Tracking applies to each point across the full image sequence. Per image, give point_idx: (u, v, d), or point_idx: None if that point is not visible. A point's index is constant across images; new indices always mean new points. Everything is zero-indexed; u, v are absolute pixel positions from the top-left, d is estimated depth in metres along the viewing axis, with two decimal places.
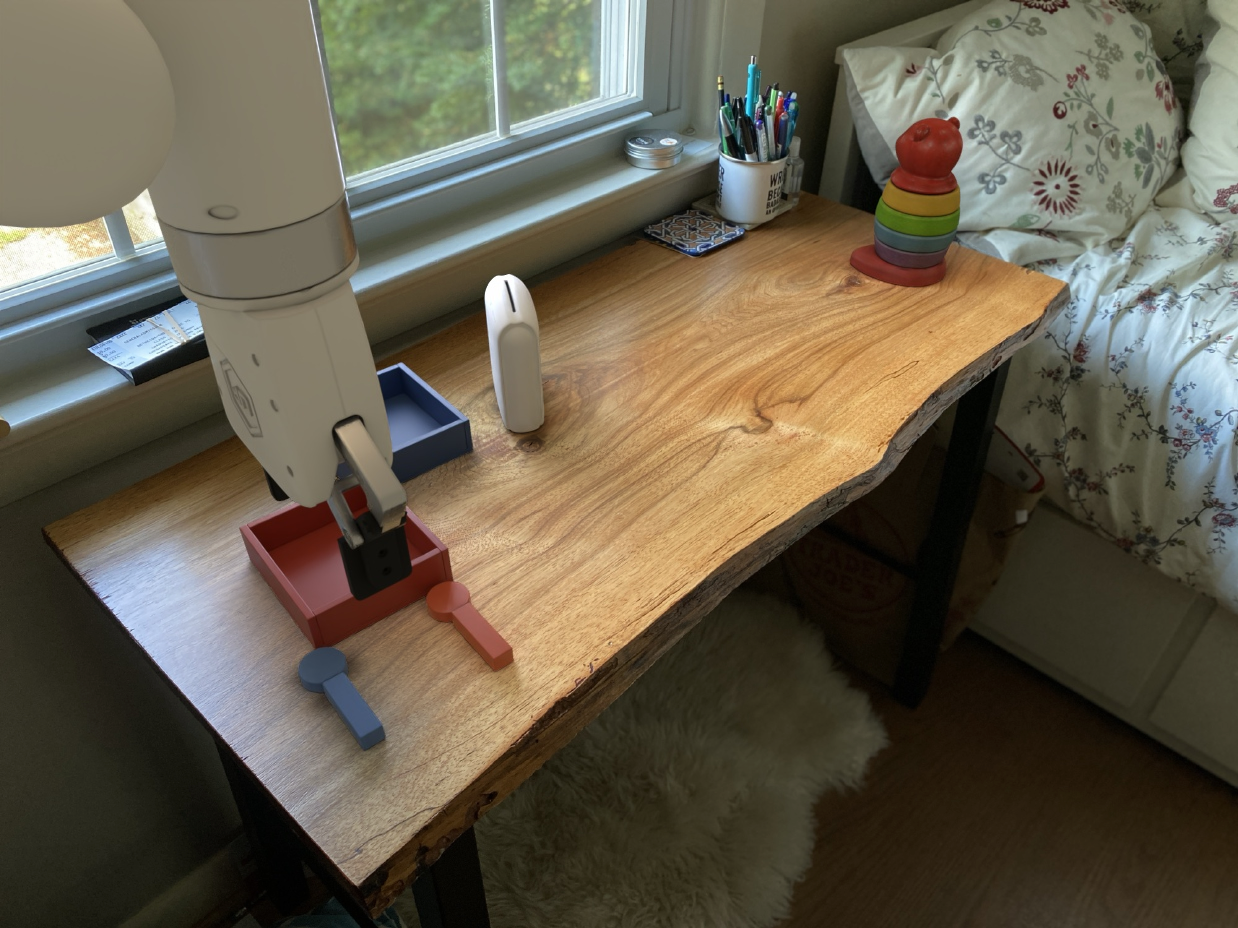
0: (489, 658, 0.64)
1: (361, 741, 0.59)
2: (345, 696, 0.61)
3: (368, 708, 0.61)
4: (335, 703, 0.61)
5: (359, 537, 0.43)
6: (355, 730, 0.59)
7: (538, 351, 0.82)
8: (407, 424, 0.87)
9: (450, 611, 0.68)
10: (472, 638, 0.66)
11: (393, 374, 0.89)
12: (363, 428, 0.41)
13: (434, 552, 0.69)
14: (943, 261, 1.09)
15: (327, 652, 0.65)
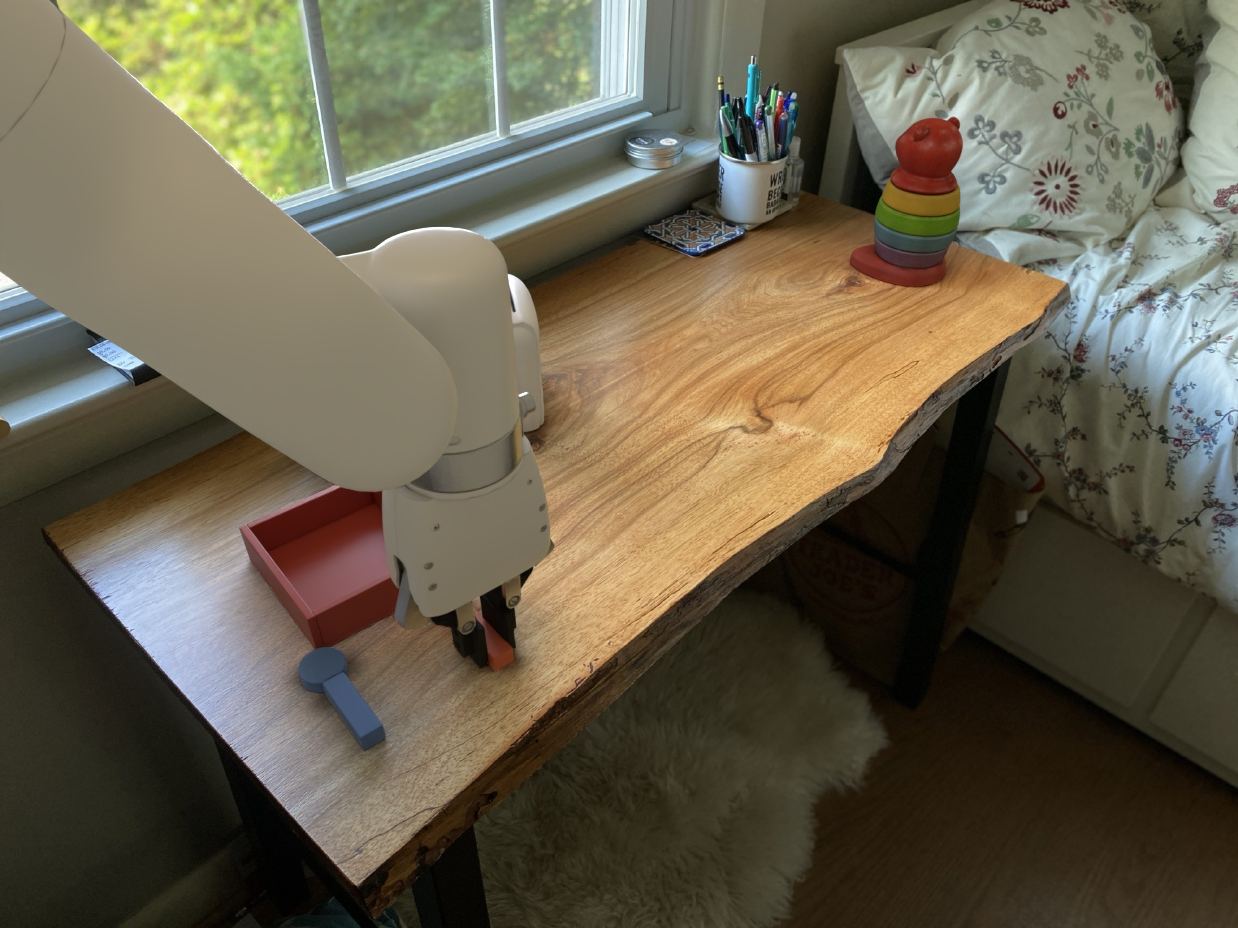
0: (489, 658, 0.64)
1: (361, 741, 0.59)
2: (345, 696, 0.61)
3: (368, 708, 0.61)
4: (335, 703, 0.61)
5: None
6: (355, 730, 0.59)
7: (538, 351, 0.82)
8: None
9: None
10: None
11: None
12: None
13: None
14: (943, 261, 1.09)
15: (327, 652, 0.65)
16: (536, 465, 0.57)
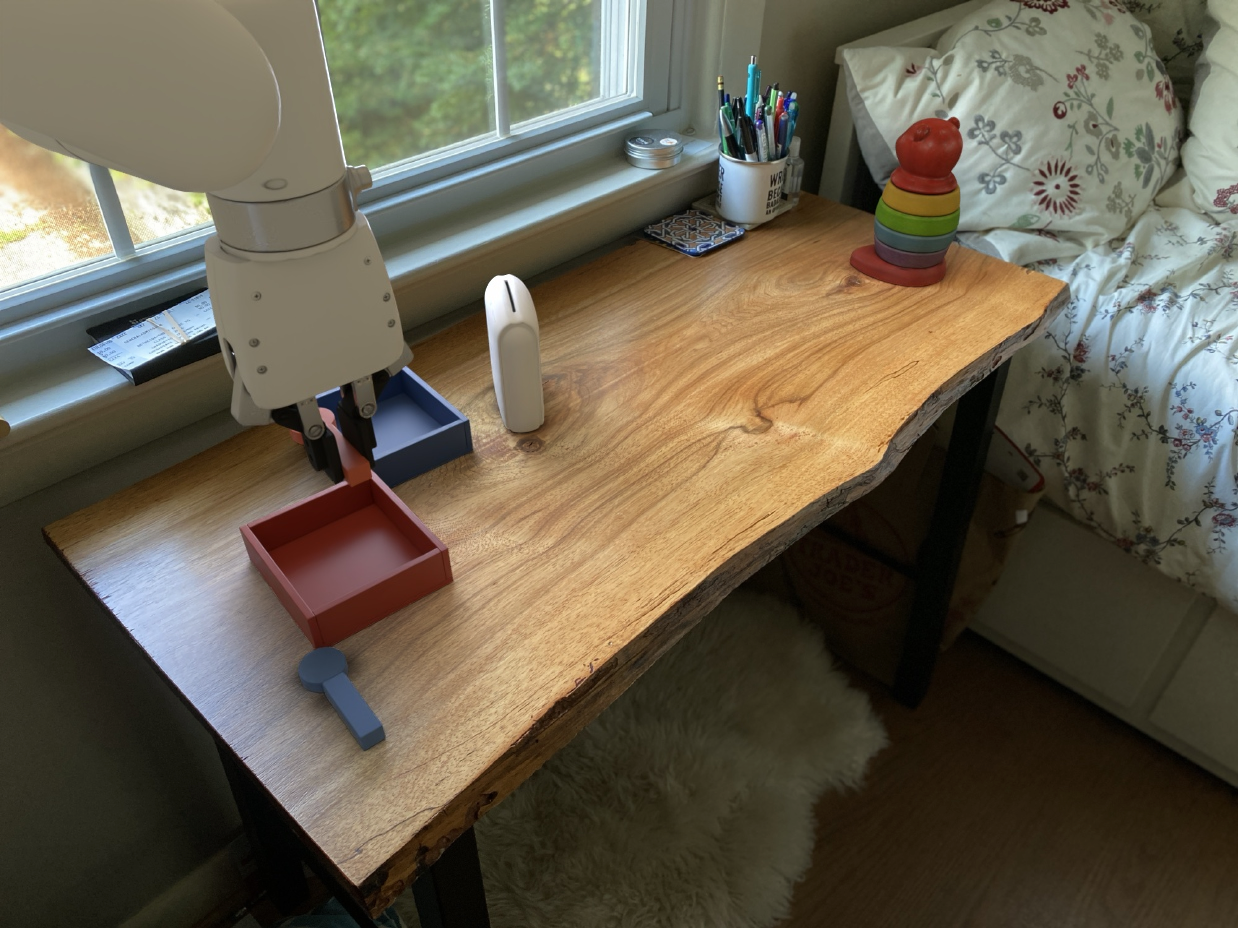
0: (344, 472, 0.61)
1: (361, 741, 0.59)
2: (345, 696, 0.61)
3: (368, 708, 0.61)
4: (335, 703, 0.61)
5: None
6: (355, 730, 0.59)
7: (538, 351, 0.82)
8: (407, 424, 0.87)
9: None
10: None
11: None
12: None
13: (434, 552, 0.69)
14: (943, 261, 1.09)
15: (327, 652, 0.65)
16: (374, 245, 0.54)
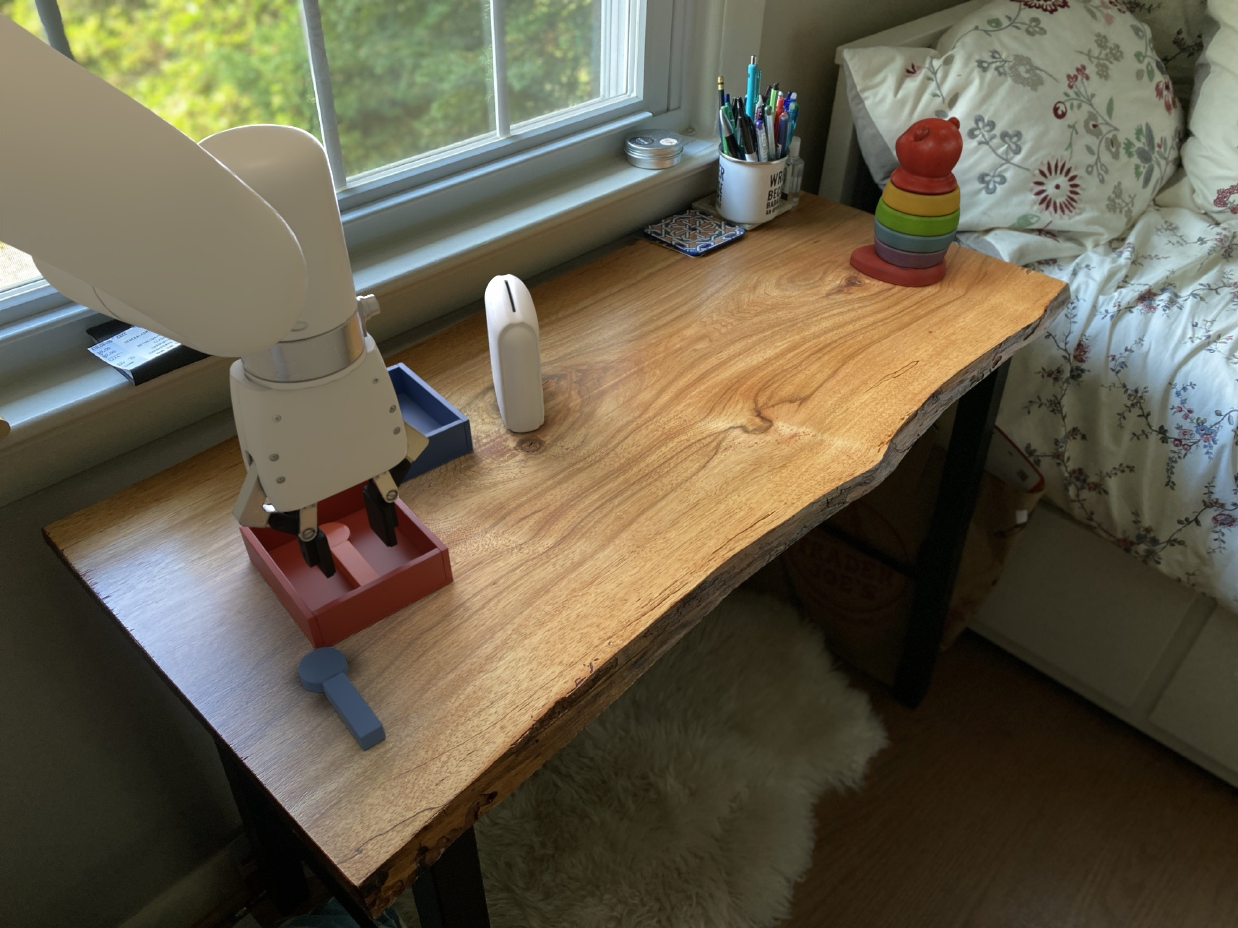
0: None
1: (361, 741, 0.59)
2: (345, 696, 0.61)
3: (368, 708, 0.61)
4: (335, 703, 0.61)
5: None
6: (355, 730, 0.59)
7: (538, 351, 0.82)
8: None
9: None
10: (346, 572, 0.70)
11: (393, 374, 0.89)
12: (256, 474, 0.60)
13: (434, 552, 0.69)
14: (943, 261, 1.09)
15: (327, 652, 0.65)
16: (382, 365, 0.60)
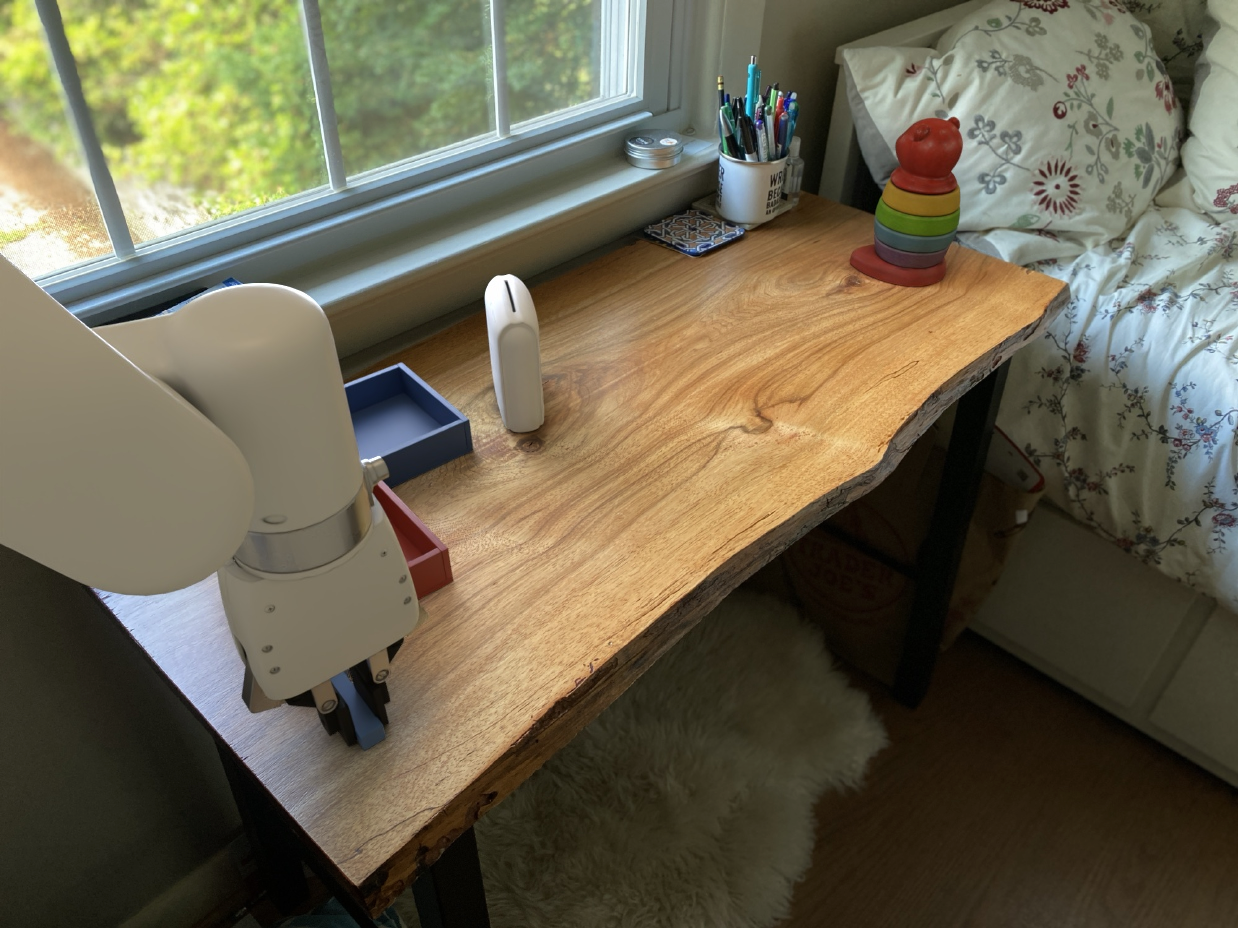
0: None
1: (361, 741, 0.59)
2: (346, 696, 0.61)
3: (368, 708, 0.61)
4: None
5: None
6: (355, 730, 0.59)
7: (538, 351, 0.82)
8: (407, 424, 0.87)
9: None
10: None
11: (393, 374, 0.89)
12: None
13: (434, 552, 0.69)
14: (943, 261, 1.09)
15: None
16: (391, 535, 0.53)
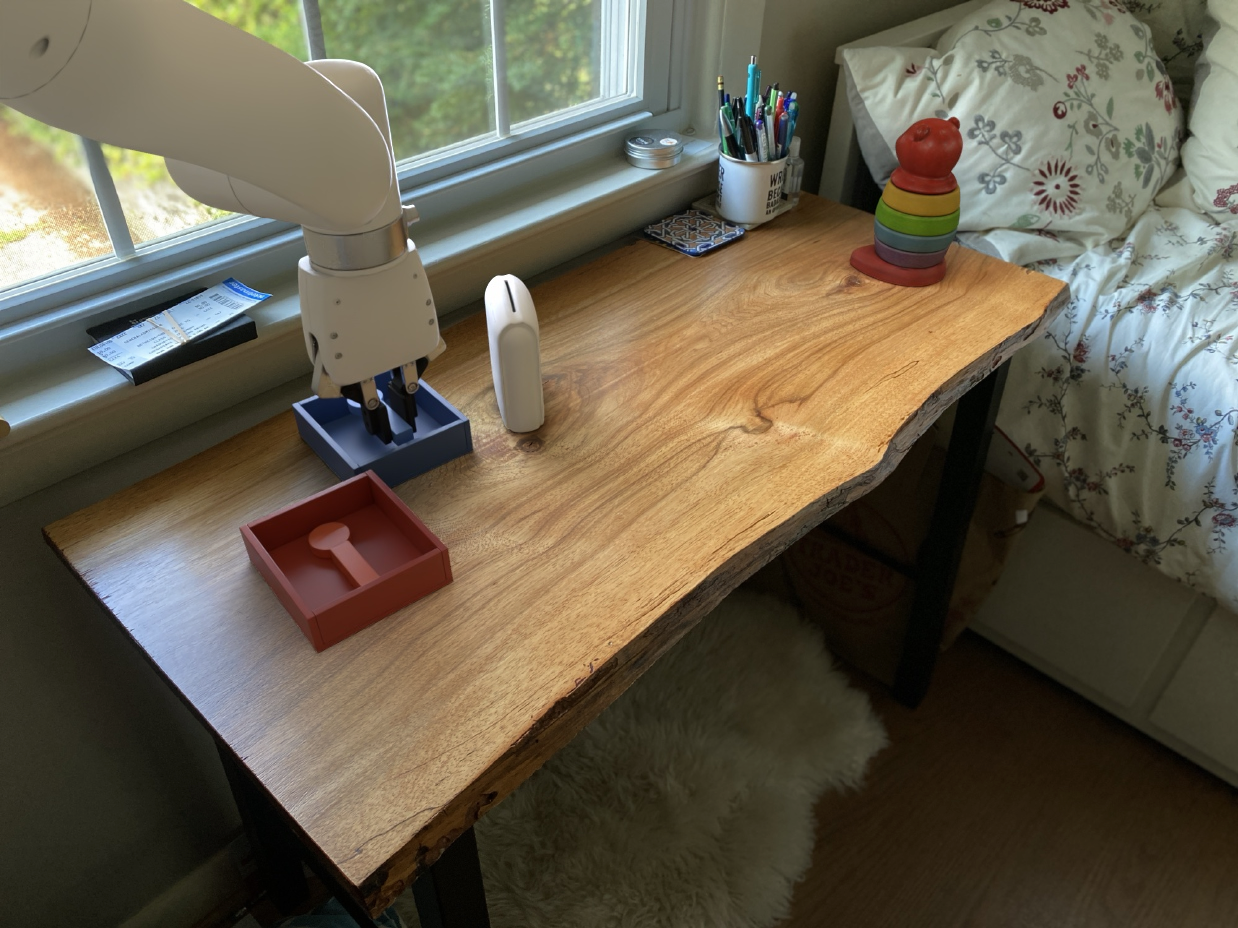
0: None
1: (396, 438, 0.80)
2: None
3: (401, 419, 0.81)
4: None
5: None
6: (392, 430, 0.80)
7: (538, 351, 0.82)
8: None
9: (329, 548, 0.72)
10: (346, 572, 0.70)
11: None
12: None
13: (434, 552, 0.69)
14: (943, 261, 1.09)
15: None
16: (420, 263, 0.73)
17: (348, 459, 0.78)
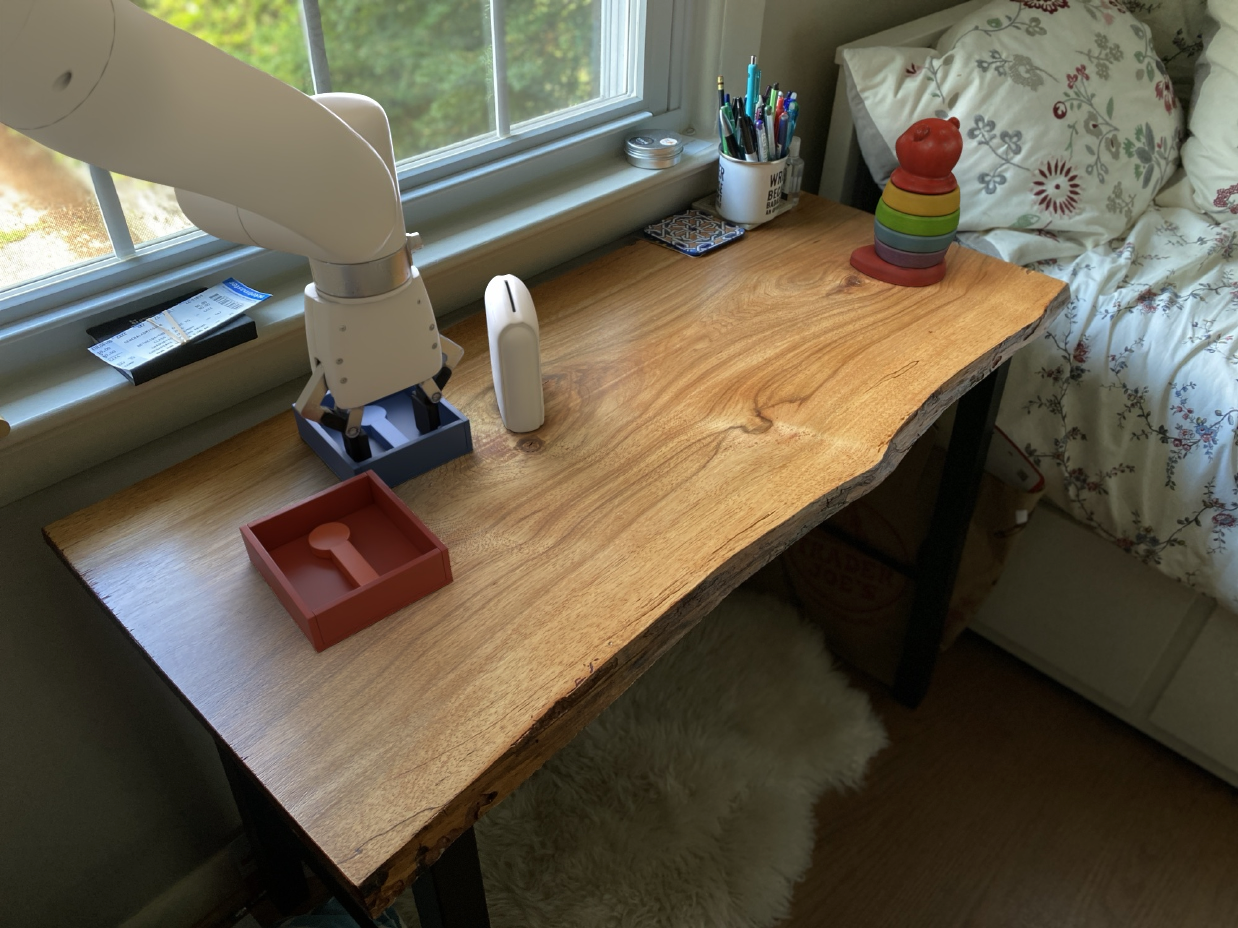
0: None
1: None
2: (387, 431, 0.83)
3: (404, 437, 0.83)
4: (380, 435, 0.83)
5: None
6: None
7: (538, 351, 0.82)
8: (407, 424, 0.87)
9: (329, 548, 0.72)
10: (346, 572, 0.70)
11: None
12: (321, 375, 0.74)
13: (434, 552, 0.69)
14: (943, 261, 1.09)
15: (372, 408, 0.87)
16: (424, 290, 0.75)
17: (348, 459, 0.78)
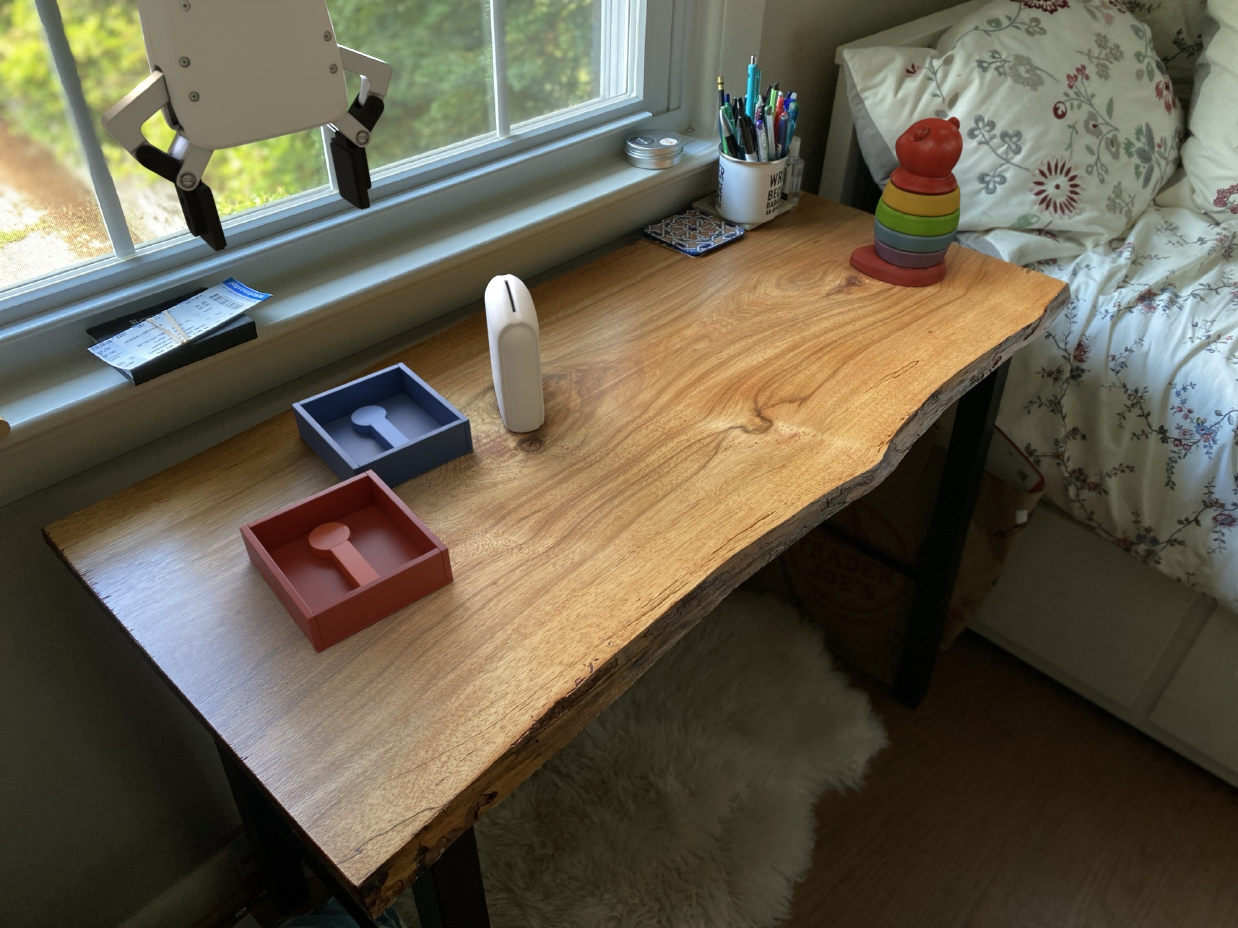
0: None
1: None
2: (387, 431, 0.83)
3: (404, 437, 0.83)
4: (380, 435, 0.83)
5: None
6: None
7: (538, 351, 0.82)
8: (407, 424, 0.87)
9: (329, 548, 0.72)
10: (346, 572, 0.70)
11: (393, 374, 0.89)
12: (155, 80, 0.51)
13: (434, 552, 0.69)
14: (943, 261, 1.09)
15: (372, 408, 0.87)
16: None
17: (348, 459, 0.78)
